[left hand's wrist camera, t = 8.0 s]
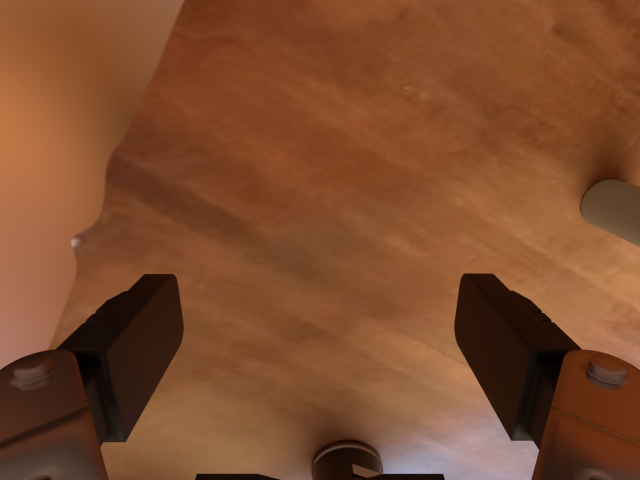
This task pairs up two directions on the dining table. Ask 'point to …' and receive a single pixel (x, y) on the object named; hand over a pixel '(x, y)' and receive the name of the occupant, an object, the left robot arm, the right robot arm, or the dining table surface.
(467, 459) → the dining table surface
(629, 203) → the bottle
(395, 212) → the dining table surface
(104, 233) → the dining table surface
